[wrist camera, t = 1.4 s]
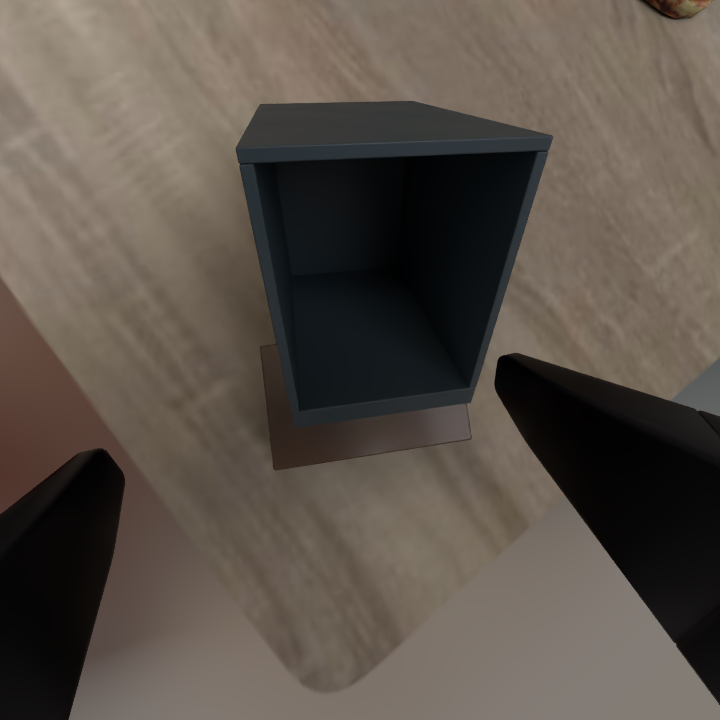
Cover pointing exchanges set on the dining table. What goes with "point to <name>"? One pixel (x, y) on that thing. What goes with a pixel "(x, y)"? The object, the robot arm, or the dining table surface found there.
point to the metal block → (351, 427)
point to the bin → (384, 247)
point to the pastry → (680, 7)
